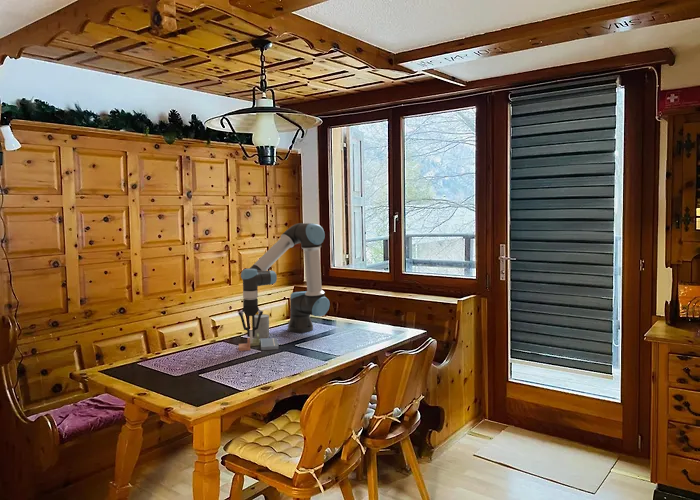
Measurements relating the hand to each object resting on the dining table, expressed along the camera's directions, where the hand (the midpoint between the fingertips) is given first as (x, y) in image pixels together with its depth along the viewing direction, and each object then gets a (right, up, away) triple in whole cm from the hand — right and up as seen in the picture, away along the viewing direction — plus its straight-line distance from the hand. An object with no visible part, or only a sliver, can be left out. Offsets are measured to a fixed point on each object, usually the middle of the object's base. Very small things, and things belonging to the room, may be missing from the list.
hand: (251, 342), depth 284 cm
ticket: (+8, -2, +7) cm, 11 cm away
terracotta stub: (-4, -3, 0) cm, 5 cm away
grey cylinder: (+1, -1, +24) cm, 24 cm away
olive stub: (0, -2, +9) cm, 10 cm away
